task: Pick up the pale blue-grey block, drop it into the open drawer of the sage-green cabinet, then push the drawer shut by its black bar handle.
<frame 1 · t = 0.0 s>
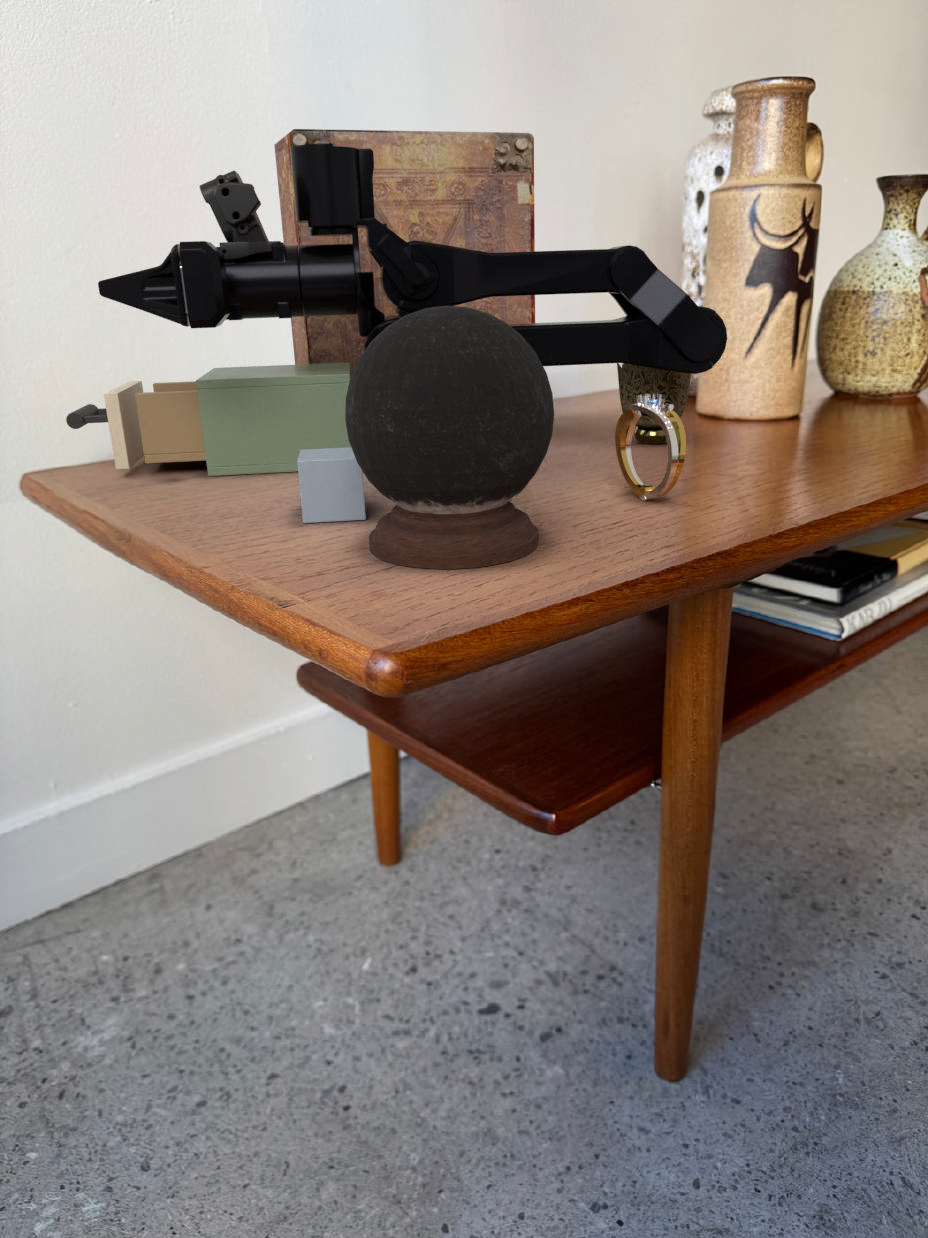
hand: (113, 287, 77), 16 cm above the table, tool horizontal, fingers open, 9 cm apart
cabinet: (286, 460, 91), on the table
book: (418, 433, 105), on the table
ring: (646, 502, 71), on the table
cup: (652, 443, 94), on the table, touching arm
black ball on stand: (454, 546, 61), on the table
drawer: (167, 421, 88), point 4 cm above the table, slide at 7.0 cm
block: (334, 514, 70), on the table
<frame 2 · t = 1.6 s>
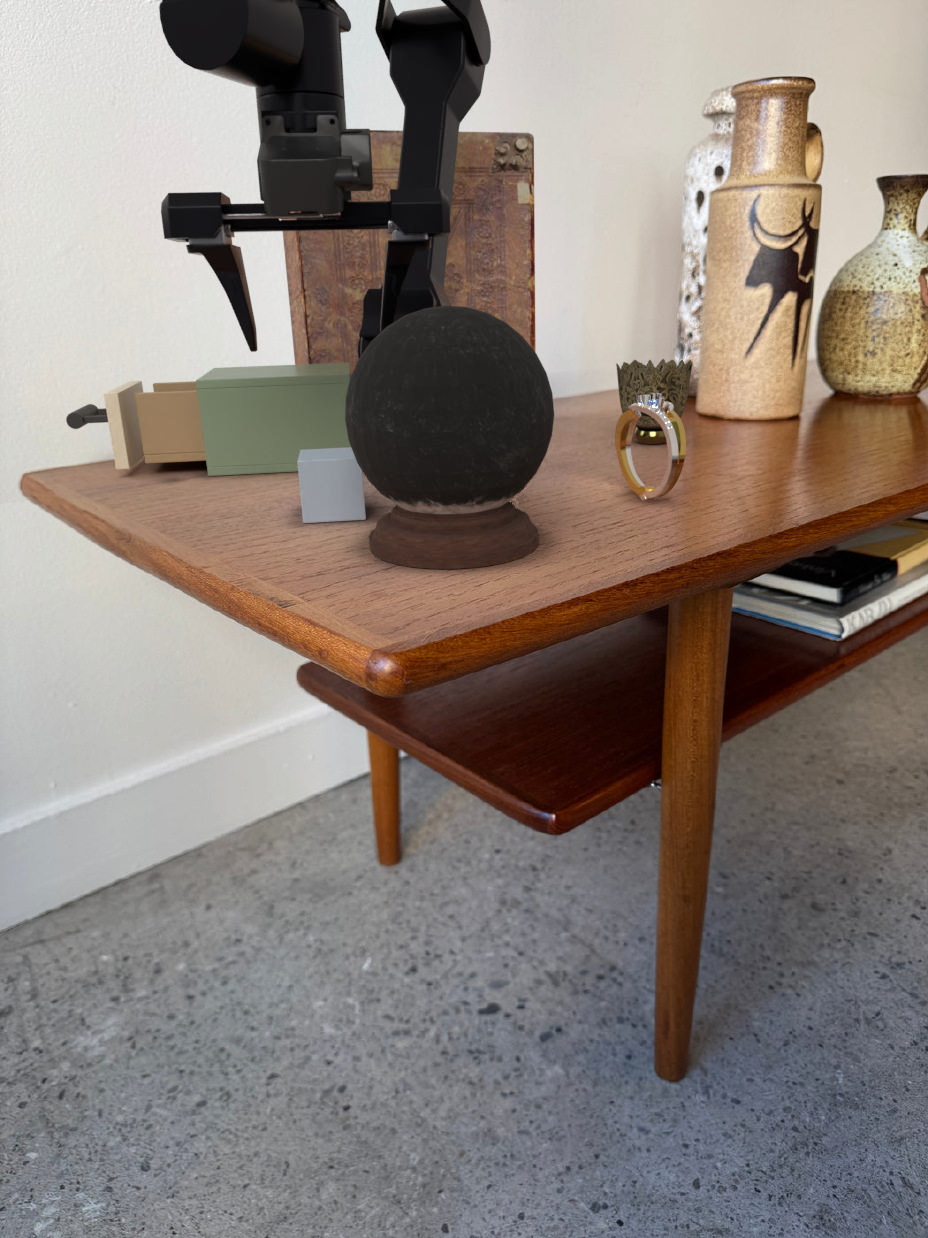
hand: (319, 349, 65), 12 cm above the table, tool pointing down, fingers open, 9 cm apart
cup: (652, 444, 94), on the table
everything else where it was.
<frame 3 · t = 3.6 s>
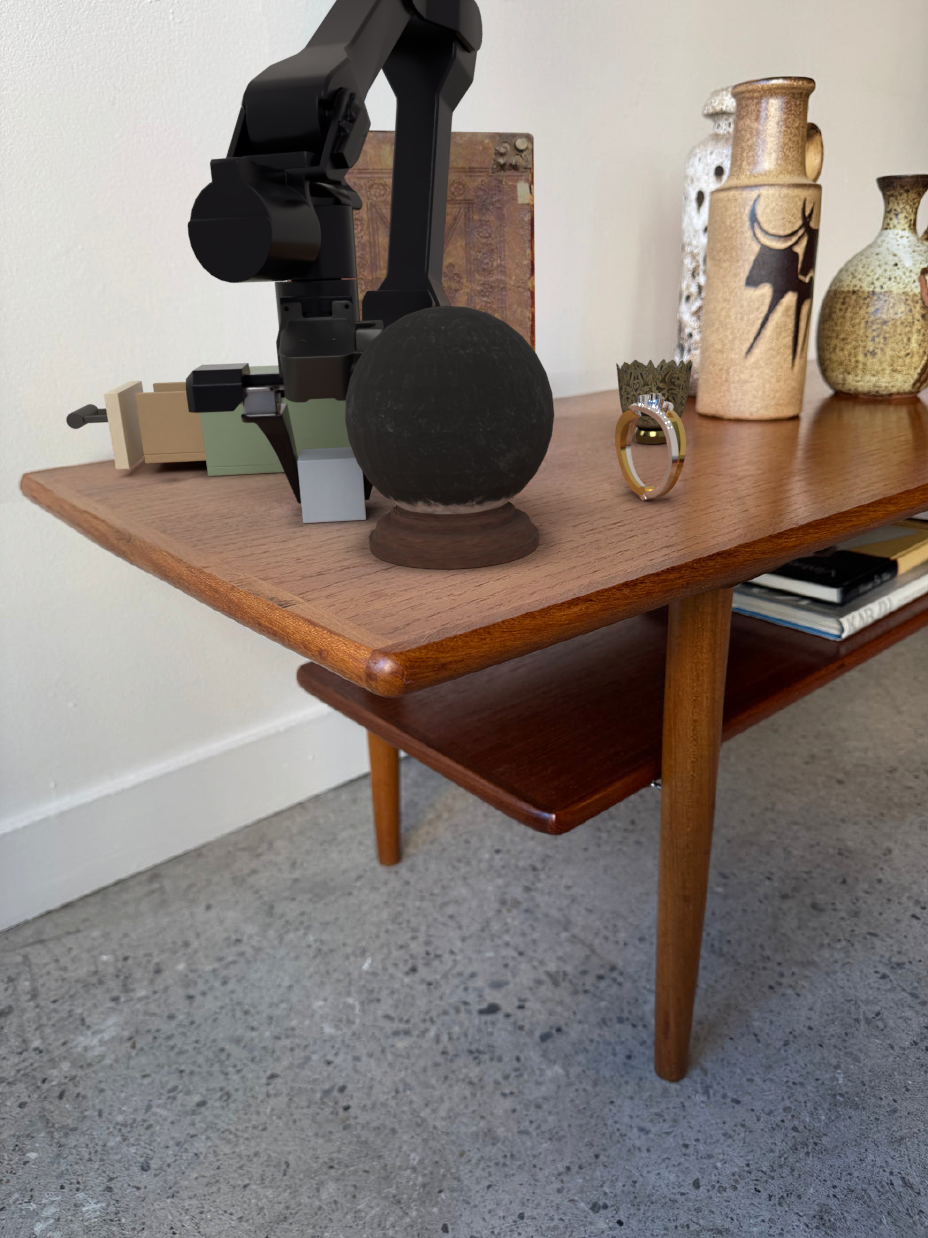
hand: (333, 500, 69), 1 cm above the table, tool pointing down, fingers closed on block, 4 cm apart
block: (335, 514, 70), on the table, touching gripper
everything else where it was.
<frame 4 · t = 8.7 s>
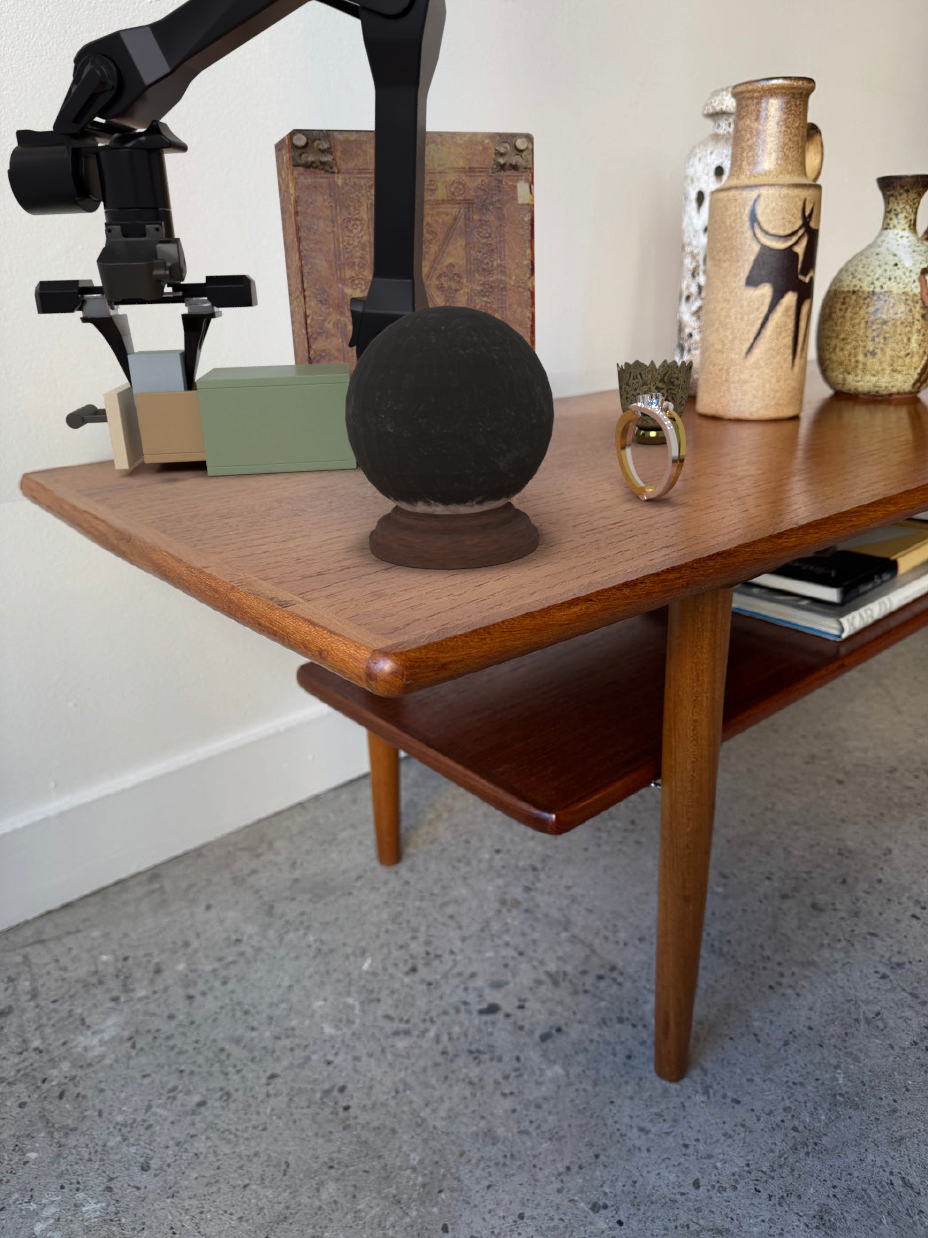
hand: (163, 391, 87), 7 cm above the table, tool pointing down, fingers closed on block, 4 cm apart
block: (165, 402, 87), point 6 cm above the table, touching gripper
everything else where it was.
when the fingers open (10 cm above the table, at t = 22.0 s): block drops 7 cm, resting on drawer.
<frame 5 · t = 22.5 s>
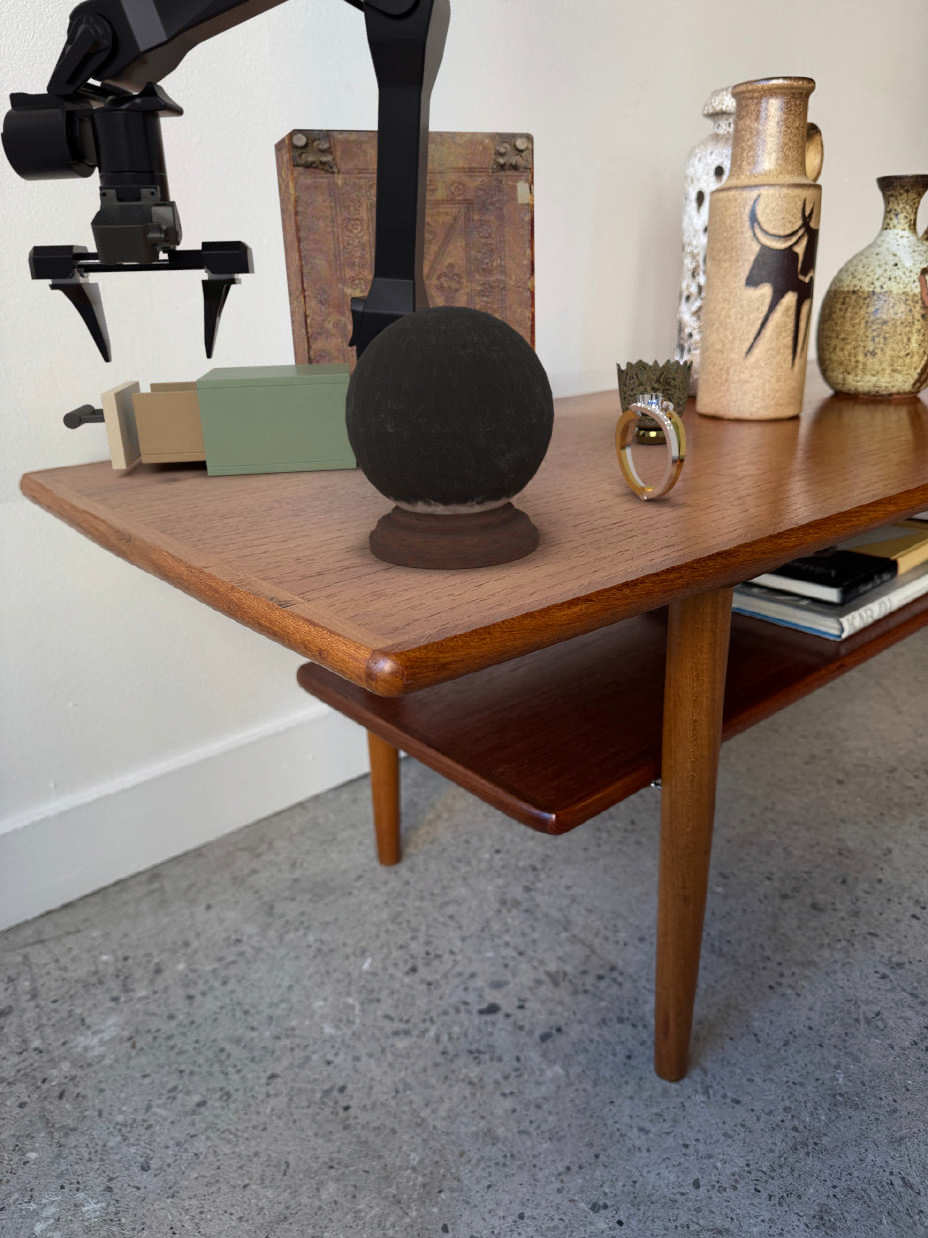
hand: (159, 360, 86), 10 cm above the table, tool pointing down, fingers open, 9 cm apart
drawer: (164, 421, 88), point 4 cm above the table, slide at 7.3 cm, touching block
block: (171, 445, 89), point 2 cm above the table, touching drawer
everything else where it was.
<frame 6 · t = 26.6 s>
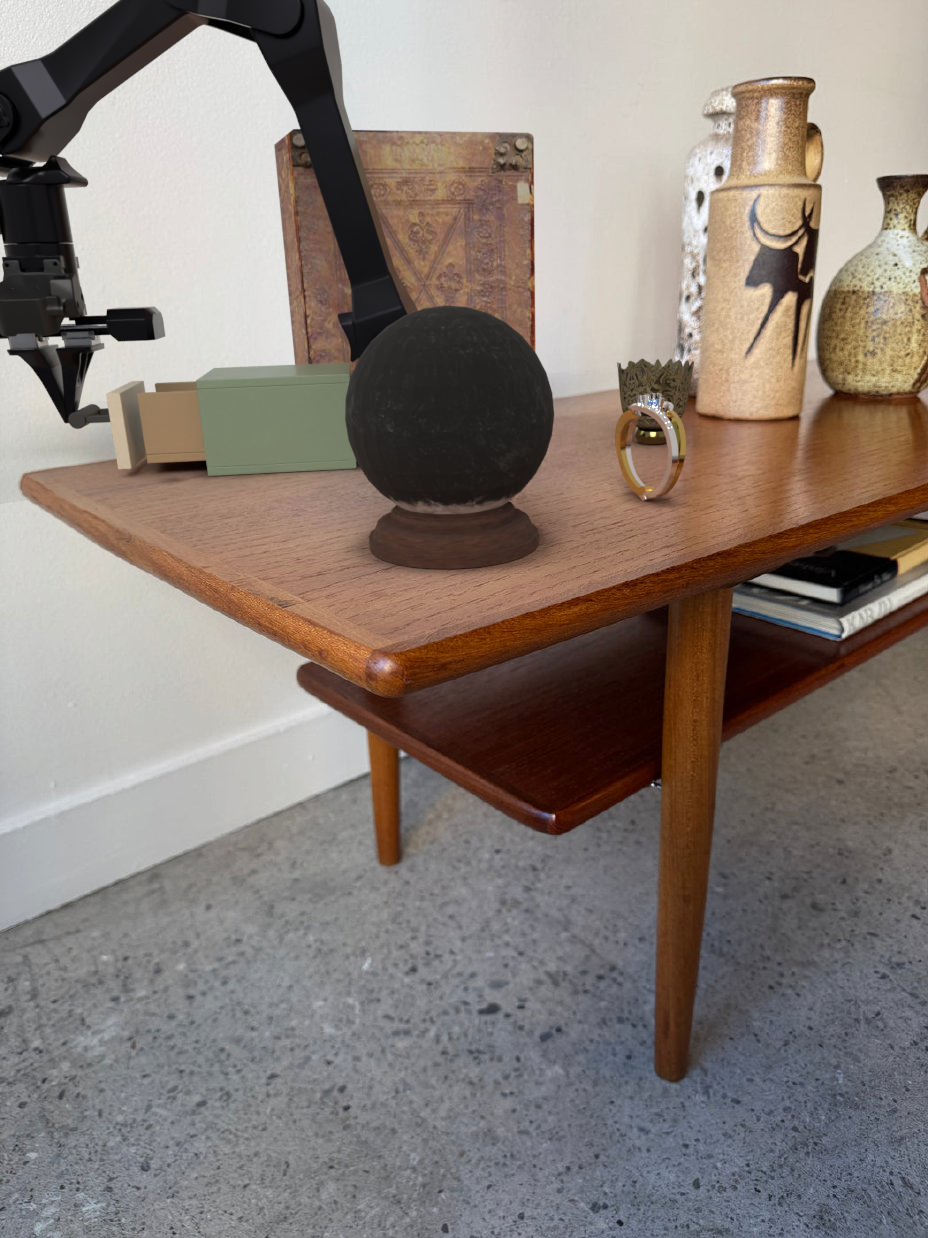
hand: (70, 422, 87), 5 cm above the table, tool pointing down, fingers closed
drawer: (169, 421, 88), point 4 cm above the table, slide at 6.8 cm, touching block, gripper
everything else where it was.
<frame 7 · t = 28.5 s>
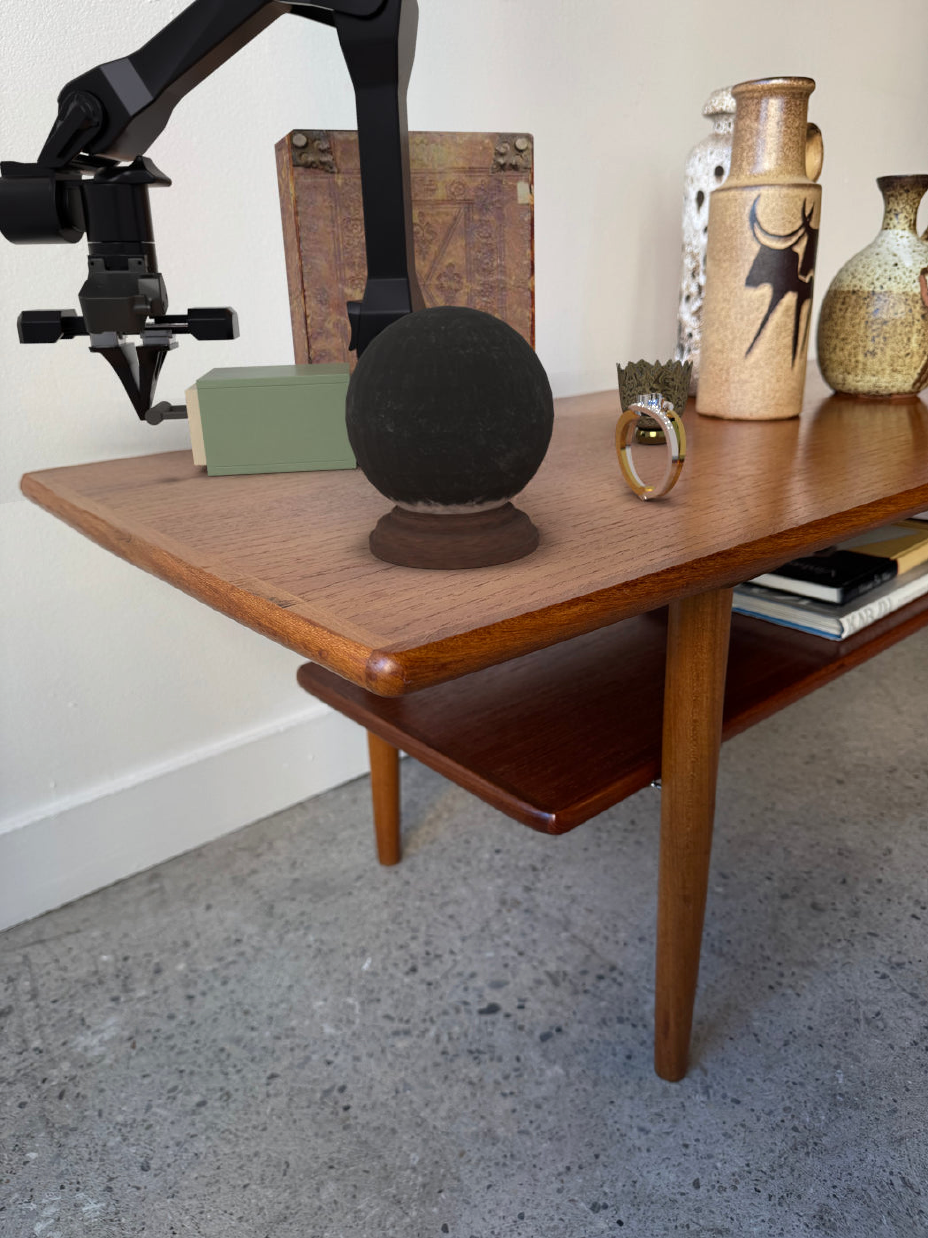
hand: (144, 420, 88), 5 cm above the table, tool pointing down, fingers closed
drawer: (241, 418, 89), point 4 cm above the table, slide at 0.0 cm, touching block, gripper
block: (247, 442, 89), point 2 cm above the table, touching drawer
everything else where it was.
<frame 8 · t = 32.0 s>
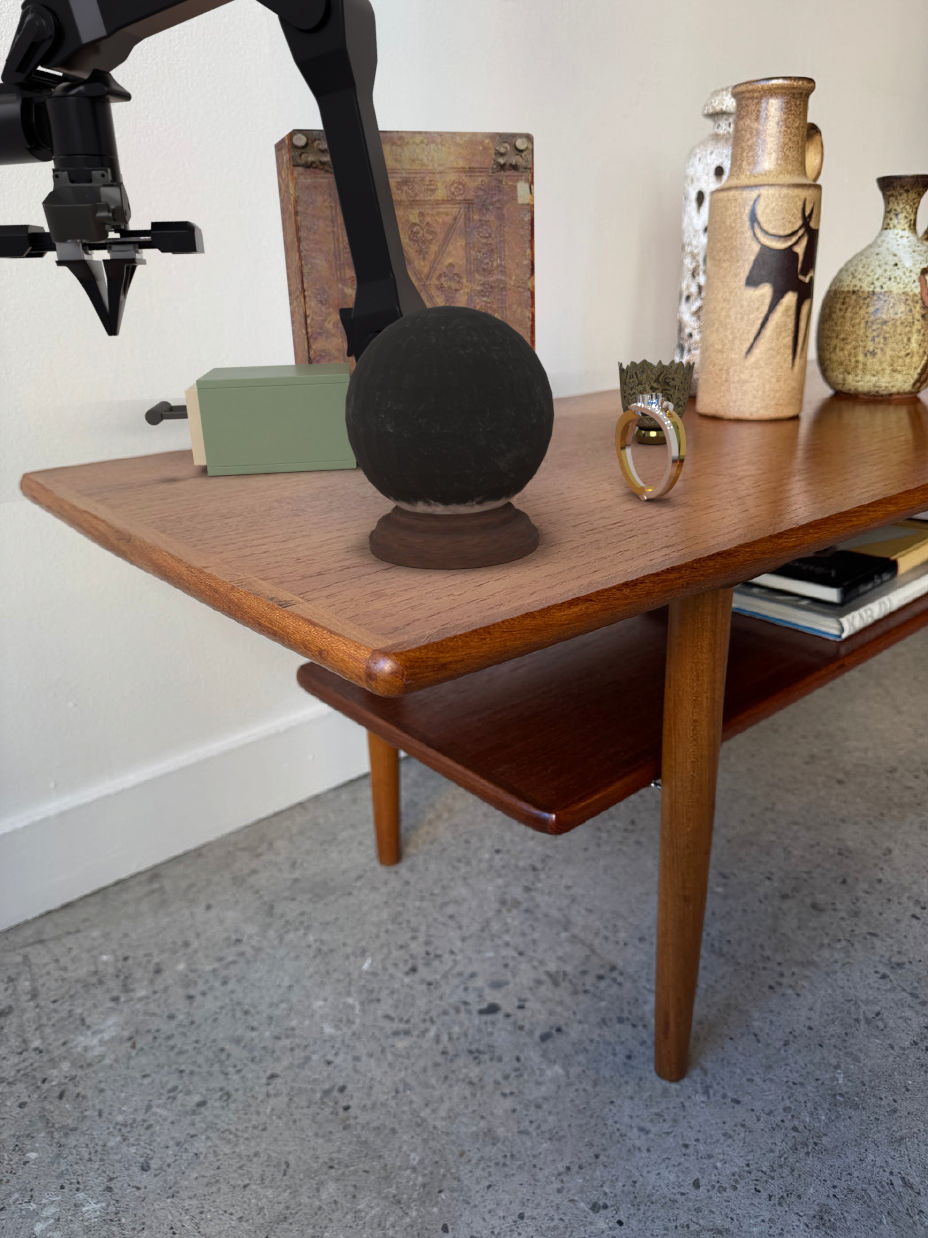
hand: (113, 335, 90), 12 cm above the table, tool pointing down, fingers closed
drawer: (241, 418, 89), point 4 cm above the table, slide at 0.0 cm, touching block
everything else where it was.
at the end: block inside the target area in the cabinet (3.5 cm from its centre), point 2.0 cm above the cabinet's base; drawer slide at 0.0 cm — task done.
